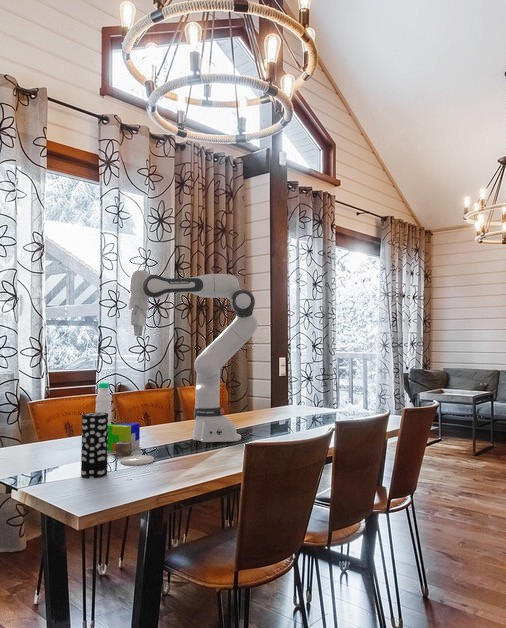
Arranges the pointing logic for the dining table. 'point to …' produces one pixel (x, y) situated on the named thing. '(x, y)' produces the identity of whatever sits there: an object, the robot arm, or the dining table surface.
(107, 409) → the water bottle
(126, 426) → the puzzle toy
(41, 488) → the dining table surface
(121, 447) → the walnut block
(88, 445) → the spotted tube
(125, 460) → the saucer
